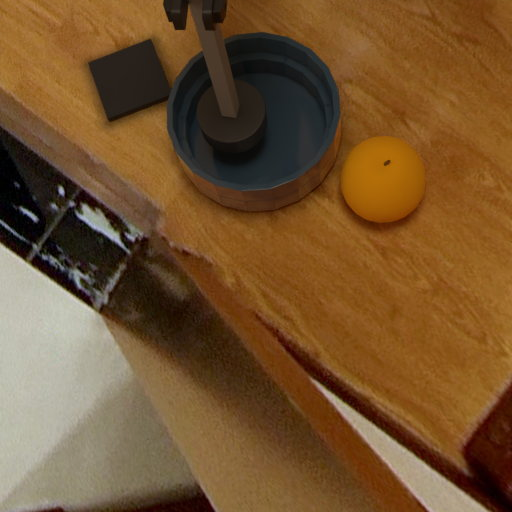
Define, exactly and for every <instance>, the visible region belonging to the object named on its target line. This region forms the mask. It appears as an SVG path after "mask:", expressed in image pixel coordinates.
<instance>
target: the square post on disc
mask: <svg viewBox="0 0 512 512" xmlns="http://www.w3.org/2000/svg"><path fill="white" fill-rule="evenodd" d="M188 3H189V6H188V8H189V10H190V13H191V16H192V20H193V23H194V26H195V30H196V33H197V36H198V40H199V44H200V47H201V51H202V50H203V54H204V57H205V60H206V64H207V67H208V70H209V74H210V77H211V80H212V84H213V86H211V87H210V88H209V89H208V90H206V91H205V93H204V94H203V95H202V97H201V98H200V100H199V103H198V106H197V120H198V123H199V126H200V129H201V131H202V134H203V136H204V138H205V140H206V141H207V142H208V144H209V145H211V146H212V147H213V148H215V149H216V150H218V151H221V152H224V153H241V152H244V151H247V150H249V149H251V148H253V147H254V146H255V145H257V144H258V143H259V142H260V140H261V139H262V138H263V136H264V134H265V132H266V129H267V124H268V118H267V112H266V106H265V102H264V99H263V97H262V95H261V93H260V92H259V91H258V90H257V89H256V88H255V87H254V86H252V85H251V84H249V83H247V82H244V81H241V80H233V76H232V72H231V68H230V64H229V60H228V56H227V52H226V48H225V44H224V39H225V38H224V36H223V32H222V28H221V23H217V26H216V31H205V27H204V24H203V20H202V6H203V0H188Z"/></svg>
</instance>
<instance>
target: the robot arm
mask: <svg viewBox="0 0 512 512" xmlns="http://www.w3.org/2000/svg"><path fill="white" fill-rule="evenodd" d="M228 2H229V0H203V6H202V20H203V24H204V27H205V31H216V26H217V23H220V24H223V23H224V22H225V20H226V18H227V12H228ZM162 5H163V9H164V12H165V14H166V18H167V21H168V23H172V26H173V28H174V31H186V29H187V24H188V16H189V15H188V13H189V3H188V0H163V1H162Z"/></svg>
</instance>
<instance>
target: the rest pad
mask: <svg viewBox="0 0 512 512" xmlns="http://www.w3.org/2000/svg"><path fill="white" fill-rule="evenodd" d="M87 64H88V68H89V71H90V72H91V75H92V78H93V81H94V84H95V87H96V89H97V94H98V95H99V98H100V101H101V104H102V106H103V109H104V113H105V115H106V118H107V120H108V122H110V123H112V122H114V121H116V120H119V119H121V118H123V117H127V116H129V115H131V114H134V113H137V112H140V111H142V110H144V109H148V108H149V107H153V106H155V105H158V104H160V103H163V102H166V101H168V99H169V96H170V93H171V90H172V88H171V87H170V84H169V82H168V79H167V77H166V74H165V71H164V69H163V66H162V63H161V61H160V59H159V56H158V53H157V51H156V48H155V45H154V43H153V40H152V39H151V38H148V39H146V40H143V41H140V42H138V43H136V44H132V45H130V46H127V47H124V48H122V49H119V50H117V51H115V52H114V51H113V52H112V53H109V54H106V55H104V56H101V57H98V58H97V59H96V58H95V59H94V60H91V61H89V62H87Z"/></svg>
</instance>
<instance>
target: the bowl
mask: <svg viewBox="0 0 512 512" xmlns="http://www.w3.org/2000/svg"><path fill="white" fill-rule="evenodd" d="M223 39H224V44H225V48H226V52H227V56H228V60H229V64H230V68H231V72H232V76H233V80H241V81H244V82H247V83H249V84H251V85H252V86H254V87H255V88H256V89H257V90H258V91H259V92H260V93H261V95H262V97H263V99H264V102H265V106H266V112H267V118H268V124H267V129H266V132H265V134H264V136H263V138H262V139H261V140H260V142H259V143H258V144H257V145H255V146H254V147H253V148H251V149H249V150H247V151H244V152H241V153H224V152H221V151H218V150H216V149H215V148H213V147H212V146H211V145H209V144H208V142H207V141H206V140H205V138H204V136H203V134H202V131H201V129H200V126H199V123H198V120H197V106H198V103H199V100H200V98H201V97H202V95H203V94H204V93H205V91H206V90H208V89H209V88H210V87H211V86H213V84H212V80H211V77H210V74H209V70H208V67H207V64H206V60H205V57H204V54H203V50H202V49H201V51H200V52H198V53H197V54H195V55H194V56H193V57H191V58H190V59H189V60H188V61H187V63H185V66H184V67H183V68H182V69H181V71H180V72H179V73H178V75H177V76H176V77H175V79H174V81H173V83H172V87H171V93H170V96H169V99H168V100H167V102H166V130H167V133H168V136H169V138H170V142H171V144H172V147H173V149H174V152H175V154H176V156H177V159H178V161H179V162H180V165H181V167H182V169H183V171H184V174H185V175H186V177H187V178H188V179H189V180H190V181H191V183H192V184H193V185H194V186H195V188H197V189H198V191H199V192H200V193H201V194H203V195H204V196H207V197H208V198H210V199H211V200H213V201H215V202H216V203H218V204H220V205H221V206H224V207H228V208H232V209H237V210H240V211H245V212H259V211H272V210H277V209H280V208H282V207H285V206H288V205H290V204H293V203H296V202H298V201H300V200H302V199H303V198H304V197H305V196H307V195H308V194H309V193H311V192H312V191H313V190H314V189H316V188H317V187H318V186H319V185H320V184H321V183H322V182H323V180H324V179H325V177H327V175H328V173H329V171H331V169H332V167H333V166H334V164H335V162H336V158H337V155H338V152H339V148H340V144H341V141H342V113H341V101H340V100H341V99H340V89H339V87H338V85H337V82H336V80H335V78H334V76H333V74H332V72H331V70H330V67H329V66H328V65H327V64H326V62H324V60H322V58H320V56H319V55H317V54H316V53H315V52H314V51H313V49H312V48H310V47H308V46H307V45H305V44H302V43H301V42H299V41H297V40H295V39H293V38H291V37H289V36H288V35H287V36H286V35H282V34H281V35H280V34H276V33H270V32H265V31H257V32H247V33H235V34H232V35H230V36H228V37H225V38H223Z"/></svg>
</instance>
